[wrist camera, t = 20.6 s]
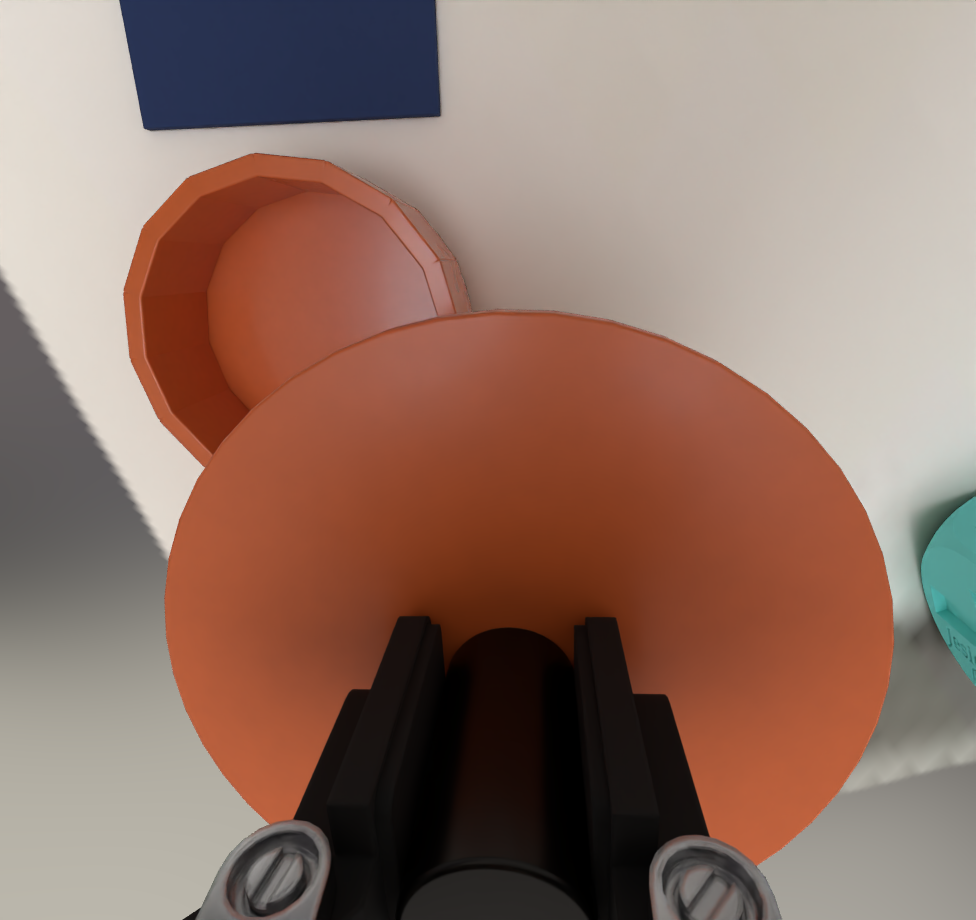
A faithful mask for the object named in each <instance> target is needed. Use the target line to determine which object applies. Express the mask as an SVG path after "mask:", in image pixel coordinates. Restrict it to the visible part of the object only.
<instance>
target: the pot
mask: <svg viewBox="0 0 976 920" xmlns="http://www.w3.org/2000/svg"><path fill="white" fill-rule="evenodd" d="M143 227H144V228H142V230H141V234H140V237H139V240H138V244H137V247H136V250H135V253H134V257H133V260H132V263H131V267H130V270H129V273H128V277H127V280H126V283H125V287H124V293H123V296H124V306H125V316H126V326H127V336H128V346H129V356H130V358H131V363H132V365H133V367H134V369H135V371H136V373H137V375H138V377H139V380H140V382H141V384H142V386H143V388H144V390H145V392H146V394H147V396H148V398H149V400H150V403H151V405H152V407H153V409H154V411H155V413H156V415H157V417H158V419H160V422H161V423H162V424H163V425H164V426H165V427H166V428H167V429H168V430H169V431H170V432H171V433H172V434H173V435H174V436H175V437H176V439H177V440H178V441H179V442H180V443H181V444H182V445H183V446H184V447H185V448H186V449H187V450H188V451H189V452H190V453H191V454H192V455H193V456H194V457H195V458H196V459H197V460H198V461H199V462H200V463H201V464H202V465H203V466H204V467H206V465H207V464H208V462H209V461H210V459H211V458H212V456H213V455H214V453H215V452H216V450H217V449H218V447H219V446H220V444H221V443H222V442H223V440H224V439H225V438H226V437H227V436H228V435H229V434H230V433H231V432H232V431H233V429H234V428H235V427H236V426H237V425H238V424H239V423H240V422H241V421H242V420H243V419H244V417H245V416H246V415H247V414H248V413H249V412H250V411H251V410H252V409H253V408H254V407H255V406H256V405H257V404H259V403H260V402H261V401H262V400H264V399H265V398H266V397H267V396H269V395H270V394H271V393H272V392H274V391H275V390H276V389H277V388H279V387H280V386H281V385H282V384H283V383H285V382H286V381H287V380H288V379H290V378H291V377H293V376H294V375H296V374H298V373H299V372H301V371H303V370H304V369H306V368H308V367H310V366H311V365H313V364H315V363H316V362H318V361H320V360H322V359H323V358H325V357H327V356H328V355H330V354H332V353H333V352H335V351H337V350H339V349H342V348H344V347H346V346H349V345H351V344H354V343H356V342H359V341H361V340H364V339H366V338H369V337H371V336H373V335H376V334H378V333H381V332H383V331H386V330H388V329H391V328H395V327H398V326H402V325H406V324H410V323H414V322H418V321H422V320H426V319H430V318H434V317H438V316H442V315H450V314H459V313H468V312H472V309H471V305H470V301H469V296H468V292H467V288H466V286H465V283H464V280H463V277H462V275H461V272H460V268H459V265H458V262H457V261H456V258H455V257H454V256H453V254H452V253H451V252H450V250H449V249H448V248H447V246H446V245H445V243H444V242H443V240H442V239H441V237H440V236H439V235H438V234H437V233H436V231H435V230H434V229H433V228H432V227H431V226H430V225H429V223H428V222H427V221H426V220H425V218H424V217H423V216H422V214H421V213H420V212H419V211H417V209H416V208H414V207H412V206H410V205H409V204H407V203H405V202H403V201H402V200H400V199H398V198H396V197H395V196H393V195H391V194H390V193H388V192H386V191H384V190H383V189H381V188H379V187H377V186H376V185H374V184H372V183H370V182H369V181H367V180H365V179H363V178H361V177H359V176H357V175H355V174H353V173H351V172H349V171H347V170H345V169H343V168H341V167H338V166H336V165H334V164H332V163H330V162H328V161H325V160H317V159H308V158H298V157H289V156H279V155H270V154H260V153H254V154H249V155H246V156H243V157H241V158H238V159H235V160H232V161H230V162H227V163H224V164H222V165H219V166H216V167H214V168H211V169H208V170H206V171H203V172H200V173H198V174H195V175H192V176H190V177H189V178H187V179H186V180H185V181H184V182H183V183H182V184H181V185H180V186H179V187H178V188H177V189H176V191H175V192H174V193H173V194H172V195H171V196H170V197H169V198H168V199H167V200H166V202H165V203H164V204H163V205H162V206H161V207H160V208H159V209H158V210H157V211H156V213H155V214H154V215H153V216H152V217H151V218H150V219H149V220H148V221H147V222H146V224H145V225H144V226H143Z"/></svg>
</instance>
